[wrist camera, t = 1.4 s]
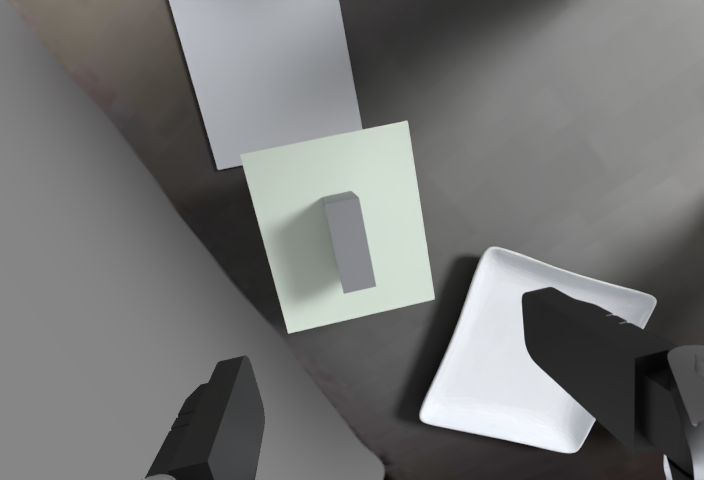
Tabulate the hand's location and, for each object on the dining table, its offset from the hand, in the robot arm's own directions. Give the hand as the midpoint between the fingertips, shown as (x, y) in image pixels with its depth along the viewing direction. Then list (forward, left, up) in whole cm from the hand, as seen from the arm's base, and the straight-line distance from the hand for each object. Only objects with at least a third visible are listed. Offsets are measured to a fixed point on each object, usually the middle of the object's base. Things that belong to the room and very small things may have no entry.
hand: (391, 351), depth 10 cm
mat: (+3, -14, -26) cm, 30 cm away
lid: (0, 0, -20) cm, 20 cm away
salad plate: (-18, +20, -27) cm, 38 cm away
